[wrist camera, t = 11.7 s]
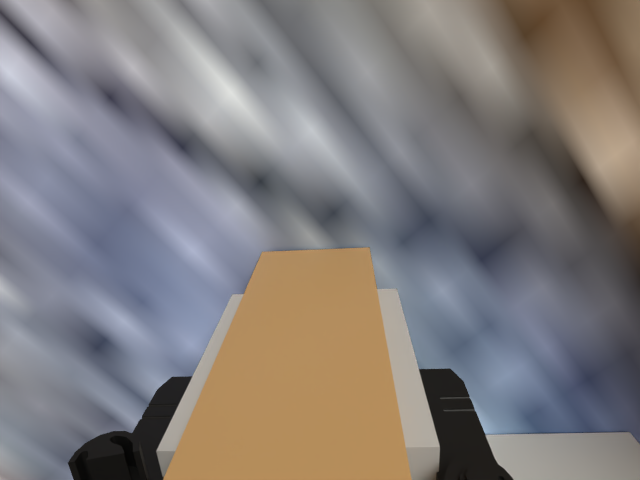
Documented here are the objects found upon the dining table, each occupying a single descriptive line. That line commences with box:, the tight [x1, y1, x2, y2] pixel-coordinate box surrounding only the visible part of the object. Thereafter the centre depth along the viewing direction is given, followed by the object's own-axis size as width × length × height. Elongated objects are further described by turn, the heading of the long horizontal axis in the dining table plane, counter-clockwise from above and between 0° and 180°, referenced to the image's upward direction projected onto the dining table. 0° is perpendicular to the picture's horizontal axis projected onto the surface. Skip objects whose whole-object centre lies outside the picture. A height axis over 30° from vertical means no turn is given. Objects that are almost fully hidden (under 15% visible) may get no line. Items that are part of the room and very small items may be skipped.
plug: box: [163, 247, 412, 480], centre depth 11 cm, size 4×4×13 cm
